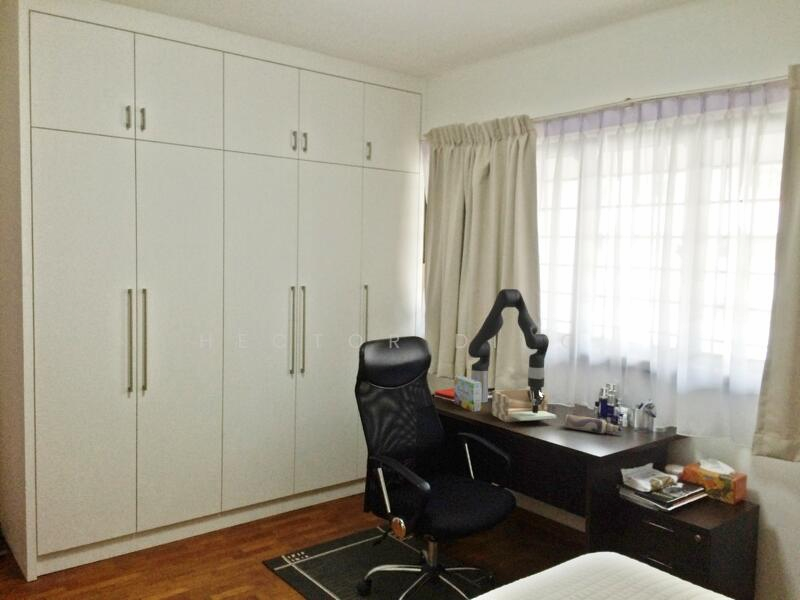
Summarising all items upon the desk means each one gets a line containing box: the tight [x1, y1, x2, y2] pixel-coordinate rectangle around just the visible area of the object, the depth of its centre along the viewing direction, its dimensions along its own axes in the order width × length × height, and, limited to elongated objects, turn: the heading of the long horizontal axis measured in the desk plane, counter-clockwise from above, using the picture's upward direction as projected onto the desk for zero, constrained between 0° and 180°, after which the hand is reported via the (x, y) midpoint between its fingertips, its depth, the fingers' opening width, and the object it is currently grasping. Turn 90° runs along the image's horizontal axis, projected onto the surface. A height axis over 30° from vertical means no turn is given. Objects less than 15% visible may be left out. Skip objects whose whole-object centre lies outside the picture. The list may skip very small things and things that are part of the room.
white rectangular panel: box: [509, 411, 557, 422], centre depth 319 cm, size 2×18×12 cm
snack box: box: [453, 375, 482, 413], centre depth 352 cm, size 21×6×15 cm, turn 23°
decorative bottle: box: [564, 413, 624, 435], centre depth 306 cm, size 26×8×7 cm, turn 59°
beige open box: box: [491, 388, 548, 423], centre depth 333 cm, size 16×22×12 cm
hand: (535, 412), depth 317 cm, fingers closed
